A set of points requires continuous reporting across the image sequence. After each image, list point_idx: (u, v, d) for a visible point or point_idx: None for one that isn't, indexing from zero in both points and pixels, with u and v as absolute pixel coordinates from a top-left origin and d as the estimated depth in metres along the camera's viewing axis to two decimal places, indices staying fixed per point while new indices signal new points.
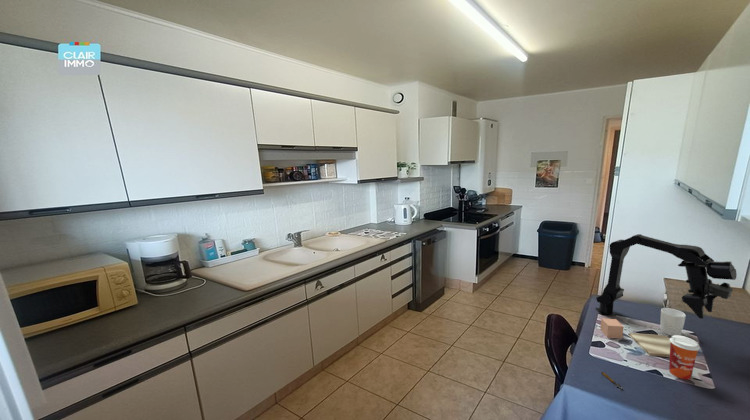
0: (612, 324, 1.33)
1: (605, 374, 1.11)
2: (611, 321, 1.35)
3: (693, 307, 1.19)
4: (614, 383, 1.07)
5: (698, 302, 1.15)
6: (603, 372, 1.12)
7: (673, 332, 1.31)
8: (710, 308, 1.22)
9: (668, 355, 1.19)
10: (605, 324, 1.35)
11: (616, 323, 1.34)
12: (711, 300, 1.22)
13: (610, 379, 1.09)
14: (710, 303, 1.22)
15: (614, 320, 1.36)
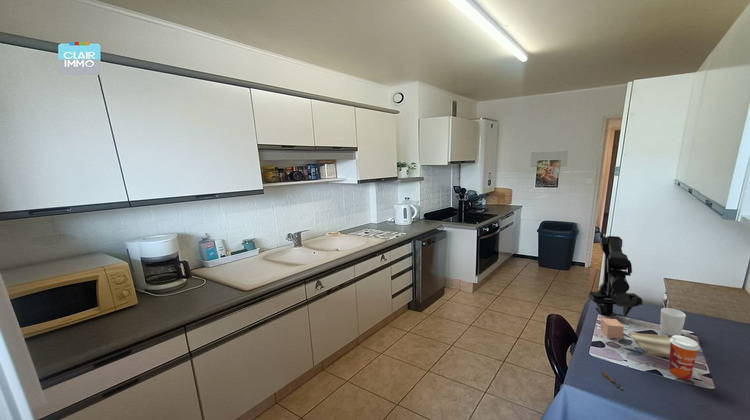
0: (612, 324, 1.33)
1: (605, 374, 1.11)
2: (611, 321, 1.35)
3: (597, 303, 1.36)
4: (614, 383, 1.07)
5: (592, 299, 1.33)
6: (603, 372, 1.12)
7: (673, 332, 1.31)
8: (625, 313, 1.32)
9: (668, 355, 1.19)
10: (605, 324, 1.35)
11: (616, 323, 1.34)
12: (628, 307, 1.31)
13: (610, 379, 1.09)
14: (626, 309, 1.32)
15: (614, 320, 1.36)
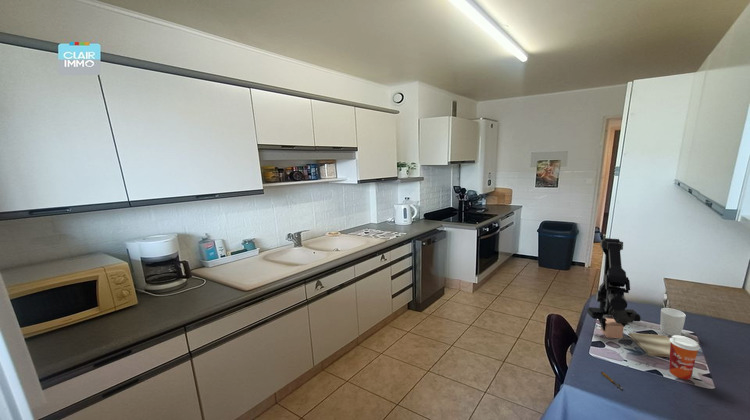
0: (612, 324, 1.33)
1: (605, 374, 1.11)
2: (611, 321, 1.35)
3: (599, 319, 1.37)
4: (614, 383, 1.07)
5: (591, 315, 1.34)
6: (603, 372, 1.12)
7: (673, 332, 1.31)
8: None
9: (668, 355, 1.19)
10: (605, 324, 1.35)
11: (616, 323, 1.34)
12: (622, 322, 1.33)
13: (610, 379, 1.09)
14: None
15: (614, 320, 1.36)
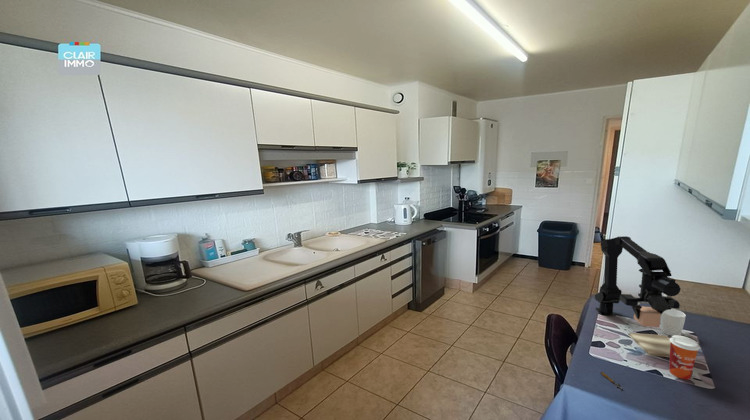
0: (648, 311, 1.24)
1: (604, 374, 1.11)
2: (647, 309, 1.26)
3: (633, 307, 1.28)
4: (614, 383, 1.07)
5: (624, 302, 1.26)
6: (602, 372, 1.12)
7: (673, 332, 1.31)
8: None
9: (668, 355, 1.19)
10: (640, 312, 1.26)
11: (652, 311, 1.24)
12: (659, 310, 1.24)
13: (610, 379, 1.09)
14: None
15: (649, 308, 1.27)
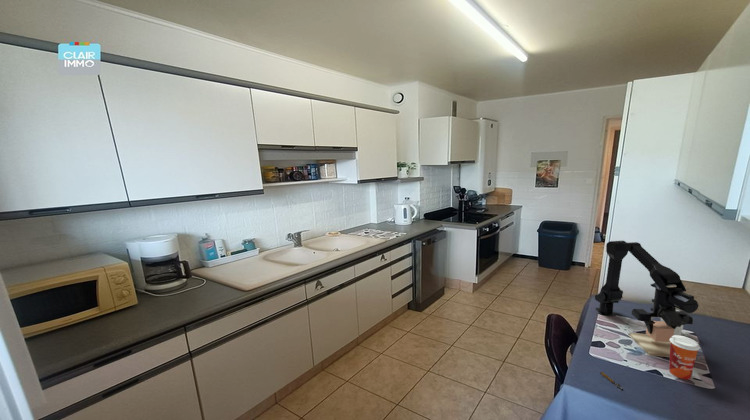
0: (661, 327, 1.22)
1: (604, 374, 1.11)
2: (659, 324, 1.24)
3: (645, 322, 1.26)
4: (614, 383, 1.07)
5: (637, 317, 1.24)
6: (602, 372, 1.12)
7: None
8: None
9: (668, 355, 1.19)
10: (653, 327, 1.24)
11: (665, 326, 1.23)
12: (672, 325, 1.22)
13: (609, 379, 1.09)
14: None
15: (662, 322, 1.25)
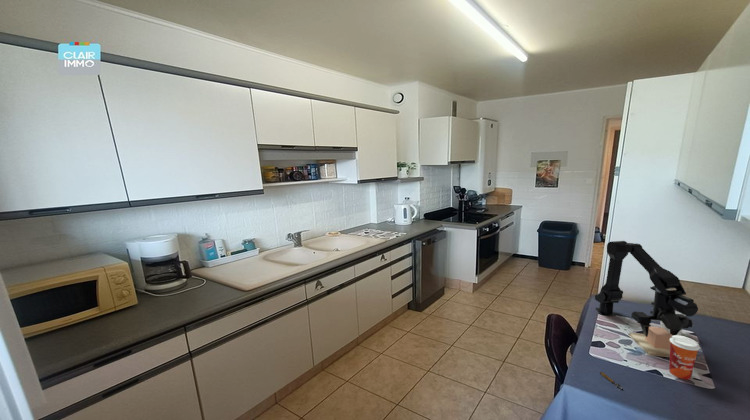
0: (660, 333, 1.23)
1: (604, 374, 1.11)
2: (659, 330, 1.25)
3: (641, 324, 1.27)
4: (614, 383, 1.07)
5: (637, 320, 1.24)
6: (602, 372, 1.12)
7: None
8: None
9: (668, 355, 1.19)
10: (652, 333, 1.25)
11: (664, 332, 1.23)
12: (676, 328, 1.22)
13: (609, 379, 1.09)
14: (674, 331, 1.23)
15: (661, 328, 1.26)
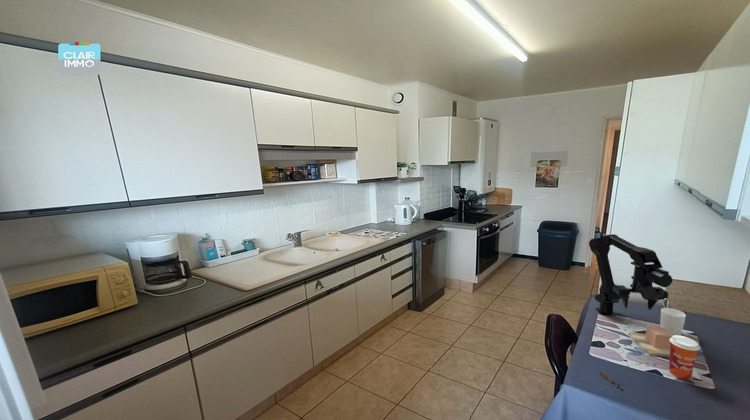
0: (660, 333, 1.23)
1: (604, 374, 1.11)
2: (659, 330, 1.25)
3: (621, 297, 1.36)
4: (613, 383, 1.07)
5: (618, 293, 1.34)
6: (601, 372, 1.12)
7: (673, 332, 1.31)
8: (649, 306, 1.33)
9: (668, 355, 1.19)
10: (652, 333, 1.25)
11: (664, 332, 1.23)
12: (653, 300, 1.32)
13: (609, 379, 1.09)
14: (651, 302, 1.32)
15: (661, 328, 1.26)
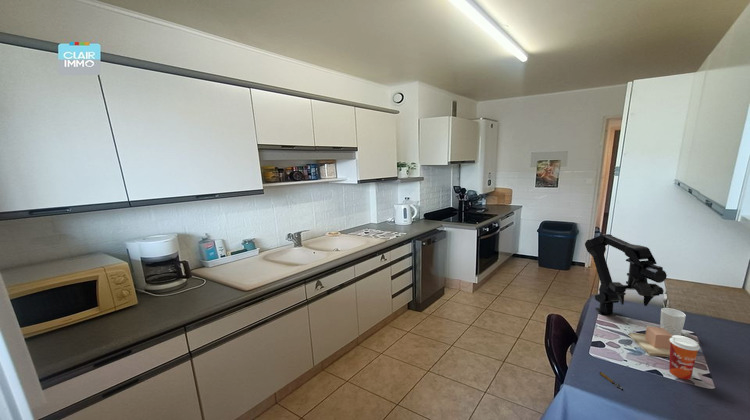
0: (660, 333, 1.23)
1: (603, 374, 1.11)
2: (659, 330, 1.25)
3: (618, 294, 1.38)
4: (613, 383, 1.07)
5: (614, 289, 1.36)
6: (601, 372, 1.12)
7: (673, 332, 1.31)
8: (645, 302, 1.35)
9: (668, 355, 1.19)
10: (652, 333, 1.25)
11: (664, 332, 1.23)
12: (648, 296, 1.34)
13: (609, 379, 1.09)
14: (647, 299, 1.34)
15: (661, 328, 1.26)
